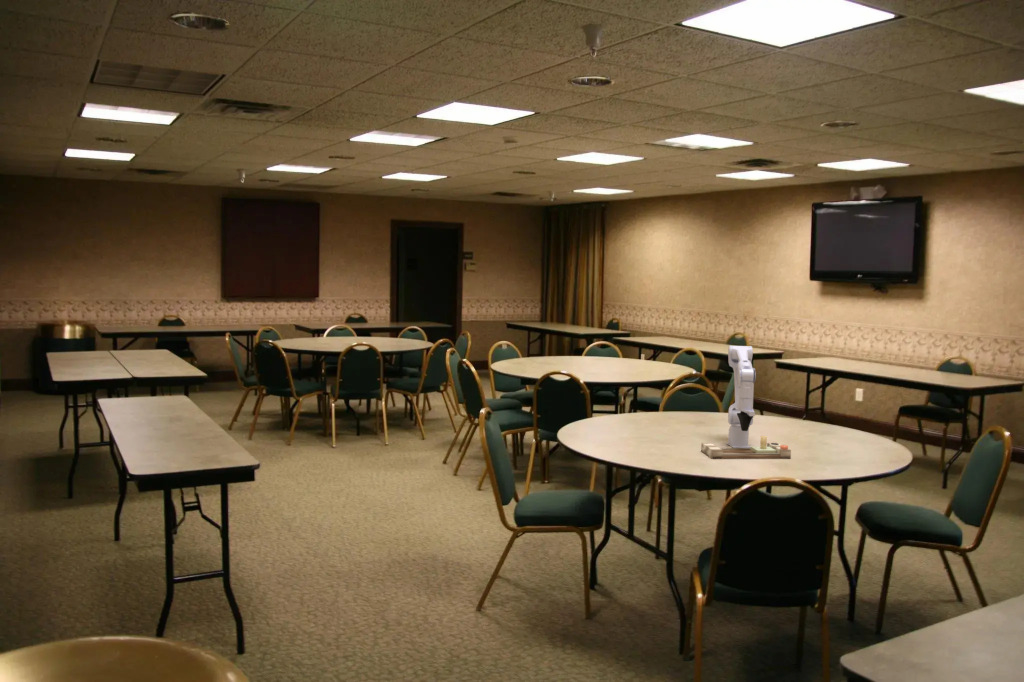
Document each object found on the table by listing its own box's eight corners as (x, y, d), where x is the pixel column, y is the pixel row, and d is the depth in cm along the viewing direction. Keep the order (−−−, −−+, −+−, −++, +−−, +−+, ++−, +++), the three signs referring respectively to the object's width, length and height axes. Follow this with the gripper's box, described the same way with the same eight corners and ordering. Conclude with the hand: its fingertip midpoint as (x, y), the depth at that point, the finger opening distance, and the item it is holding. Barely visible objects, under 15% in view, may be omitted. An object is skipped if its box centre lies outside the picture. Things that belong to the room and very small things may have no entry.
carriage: (750, 450, 326) (751, 434, 325) (769, 450, 326) (769, 434, 326) (756, 453, 319) (757, 438, 318) (776, 453, 319) (776, 438, 319)
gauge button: (778, 447, 319) (778, 445, 319) (786, 447, 319) (786, 445, 319) (782, 449, 316) (782, 446, 316) (789, 449, 316) (789, 446, 316)
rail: (701, 451, 328) (701, 442, 327) (776, 451, 330) (776, 442, 330) (712, 458, 314) (712, 449, 313) (790, 458, 316) (791, 449, 316)
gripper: (729, 395, 330) (728, 427, 331) (743, 400, 315) (741, 434, 316) (746, 395, 330) (744, 427, 331) (760, 400, 316) (758, 434, 317)
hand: (744, 430), depth 324 cm, fingers closed
